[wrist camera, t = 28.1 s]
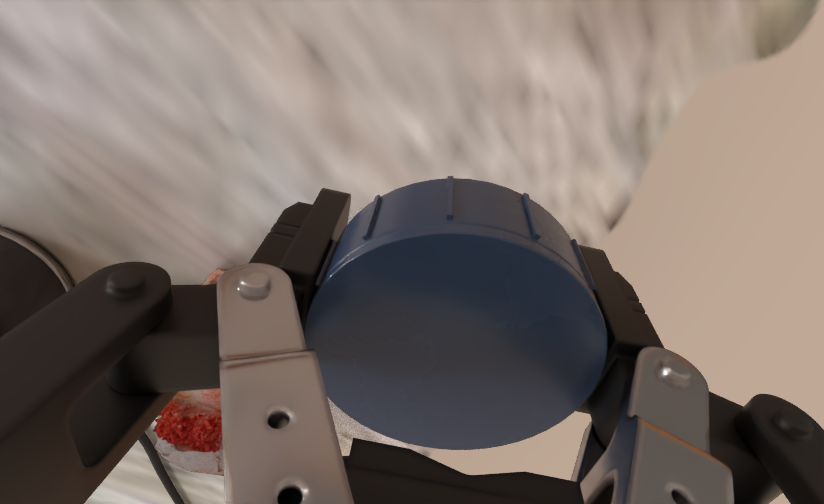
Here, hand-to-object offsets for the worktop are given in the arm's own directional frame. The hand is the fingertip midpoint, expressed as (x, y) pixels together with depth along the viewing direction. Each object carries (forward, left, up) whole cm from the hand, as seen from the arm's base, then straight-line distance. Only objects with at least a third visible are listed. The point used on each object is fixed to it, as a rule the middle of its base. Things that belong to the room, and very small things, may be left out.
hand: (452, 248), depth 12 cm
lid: (0, 0, +4) cm, 4 cm away
